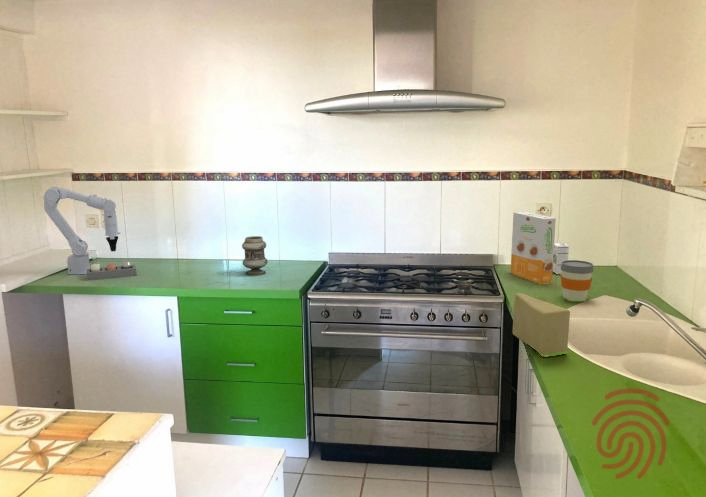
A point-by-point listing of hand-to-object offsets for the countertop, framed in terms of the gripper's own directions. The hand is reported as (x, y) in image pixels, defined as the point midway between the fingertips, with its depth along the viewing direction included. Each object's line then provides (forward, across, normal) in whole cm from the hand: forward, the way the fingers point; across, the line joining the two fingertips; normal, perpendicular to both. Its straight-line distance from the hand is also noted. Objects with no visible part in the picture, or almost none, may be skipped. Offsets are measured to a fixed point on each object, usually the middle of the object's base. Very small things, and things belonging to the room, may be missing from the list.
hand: (113, 251), depth 291 cm
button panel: (+10, -12, +2) cm, 15 cm away
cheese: (+10, -168, -123) cm, 209 cm away
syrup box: (+10, -98, -198) cm, 221 cm away
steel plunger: (+8, -12, -5) cm, 15 cm away
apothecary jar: (+10, -36, -64) cm, 74 cm away
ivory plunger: (+8, -12, +9) cm, 16 cm away
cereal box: (+10, -100, -179) cm, 205 cm away
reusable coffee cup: (+10, -134, -173) cm, 219 cm away
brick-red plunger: (+8, -12, +2) cm, 14 cm away
